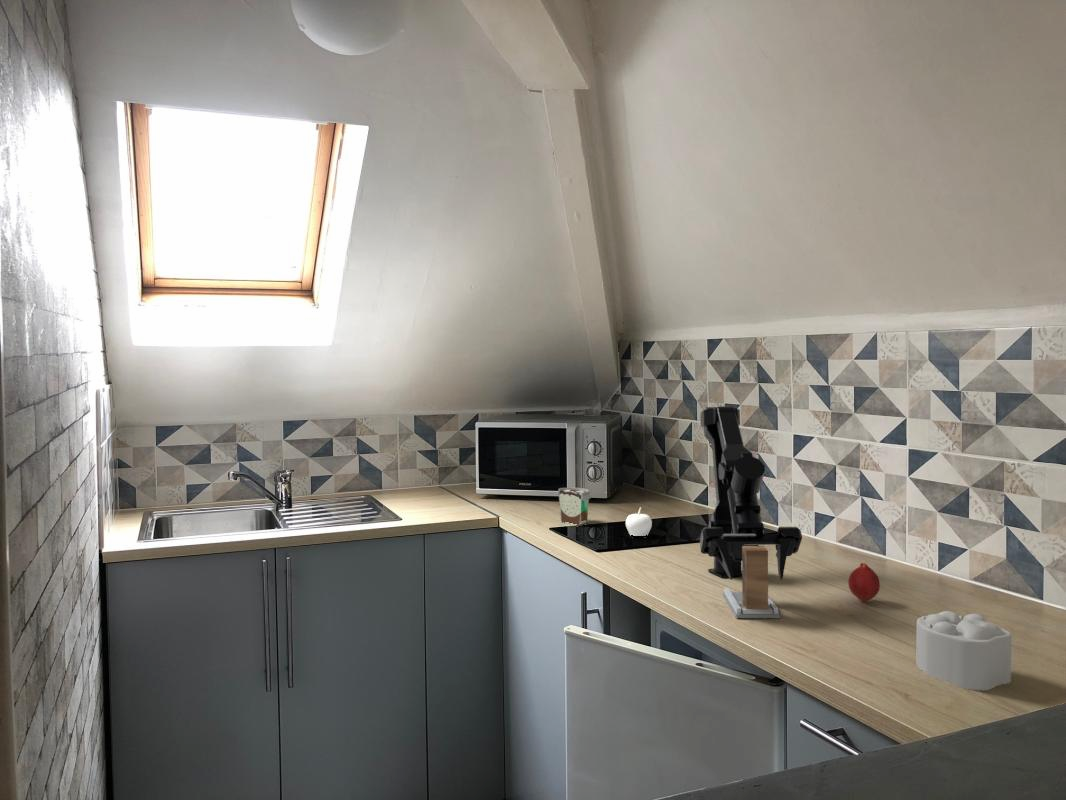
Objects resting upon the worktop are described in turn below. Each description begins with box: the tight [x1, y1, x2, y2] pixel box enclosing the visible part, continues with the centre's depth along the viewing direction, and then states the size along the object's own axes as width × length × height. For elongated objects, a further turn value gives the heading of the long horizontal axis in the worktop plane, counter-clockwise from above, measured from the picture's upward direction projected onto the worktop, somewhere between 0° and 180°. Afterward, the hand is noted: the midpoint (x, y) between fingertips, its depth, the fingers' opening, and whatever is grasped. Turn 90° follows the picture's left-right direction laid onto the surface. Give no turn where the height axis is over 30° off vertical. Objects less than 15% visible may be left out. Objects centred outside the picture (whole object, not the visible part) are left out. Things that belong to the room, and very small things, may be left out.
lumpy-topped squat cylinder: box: [915, 610, 1013, 692], centre depth 131 cm, size 10×13×9 cm
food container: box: [557, 487, 592, 525], centre depth 251 cm, size 12×6×10 cm, turn 34°
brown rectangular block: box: [738, 545, 773, 614], centre depth 161 cm, size 5×5×12 cm
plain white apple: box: [625, 507, 653, 536], centre depth 231 cm, size 7×7×8 cm
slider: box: [722, 587, 781, 619], centre depth 166 cm, size 15×8×2 cm, turn 177°
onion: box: [847, 561, 881, 603], centre depth 168 cm, size 6×6×8 cm
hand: (756, 578), depth 159 cm, fingers open, 9 cm apart
